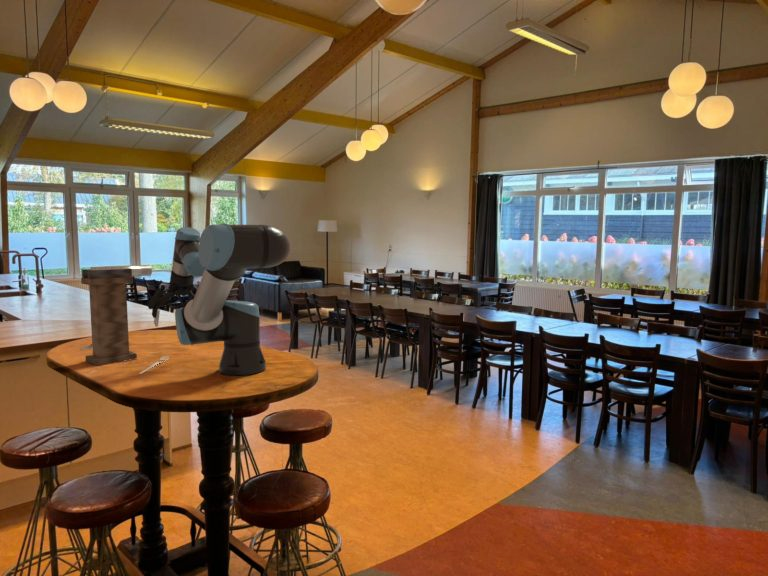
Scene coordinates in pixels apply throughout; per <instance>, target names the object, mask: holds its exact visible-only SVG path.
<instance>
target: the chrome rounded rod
mask: <svg viewBox="0 0 768 576" xmlns="http://www.w3.org/2000/svg"><path fill="white" fill-rule="evenodd" d="M89 269H90V270H109V269H132V277H143V276H144V277H147V276H151V275H152V273H153V268H152V266H151V265H150V264H141V265H140V264H138V265H136V264H135V265H133V264H132V265H112V266H111V265H109V266H91V267H90V268H89Z"/></svg>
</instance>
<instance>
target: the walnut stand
mask: <svg viewBox="0 0 768 576" xmlns="http://www.w3.org/2000/svg"><path fill="white" fill-rule="evenodd" d="M80 280H81V281H80V283H81V284H82V285H87V286H88V290H89V305H90V306H89V307H90V327H91V344H92V348H93V350H92V354H89V355H87V354H86V355H85V362H86V363H89V364H91V365H93V366H94V367H96V366H102V365H110V364H115V363H114V362H116V363H120V362H119V361H123V362H125V361H124V360H129V359H135V358H137V359H138V356H137V355H138V354H137V352H136V353H135V352H133V351H130V341H129V339H130V338H129V322H128V321H129V319H128V317H129V316H128V300H127V299H128V298H127V284H133V283H134V276H132V269H109V270H90V268H89V269H87V268H86V269H81V278H80ZM135 360H136V359H135ZM129 361H130V360H129ZM109 363H110V364H109Z"/></svg>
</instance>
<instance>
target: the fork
mask: <svg viewBox="0 0 768 576" xmlns="http://www.w3.org/2000/svg"><path fill="white" fill-rule="evenodd" d="M159 360H165V361H166V360H168V361H169V355H168V356H167V355H166V356H165V355H164V356H163V355H162V356H161V357H160V359H159ZM162 362H163V361H162ZM162 362H161V361H160V362H158V361H156V362H155V363H153V364H151V365H149V367H147V368H145V369H143V370H142V371H140V372H139V373H138V374H139V375H141V374H143V373H146V372H147V371H150V370H151V369H153V368H155V367H156V366H158V365H160V364H159V363H162ZM157 364H158V365H157ZM155 365H156V366H155ZM154 366H155V367H154ZM152 367H153V368H152ZM150 368H151V369H150Z"/></svg>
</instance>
